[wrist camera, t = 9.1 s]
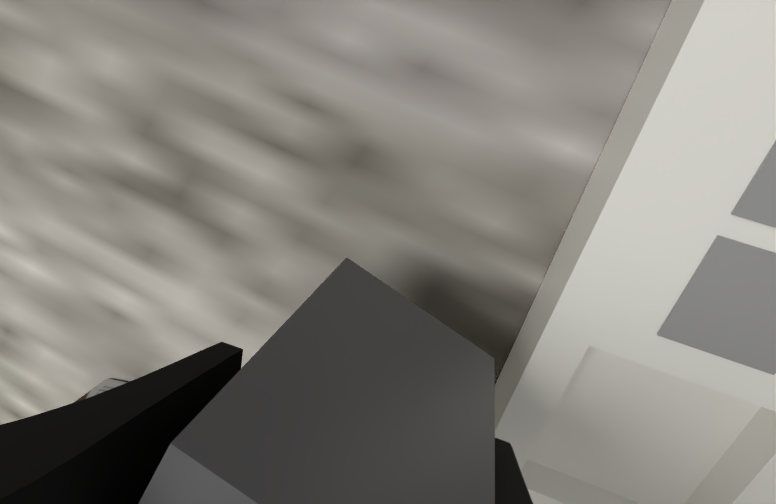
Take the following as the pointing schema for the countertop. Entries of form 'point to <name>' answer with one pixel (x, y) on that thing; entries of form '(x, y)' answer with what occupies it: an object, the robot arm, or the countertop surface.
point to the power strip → (663, 288)
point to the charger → (344, 411)
